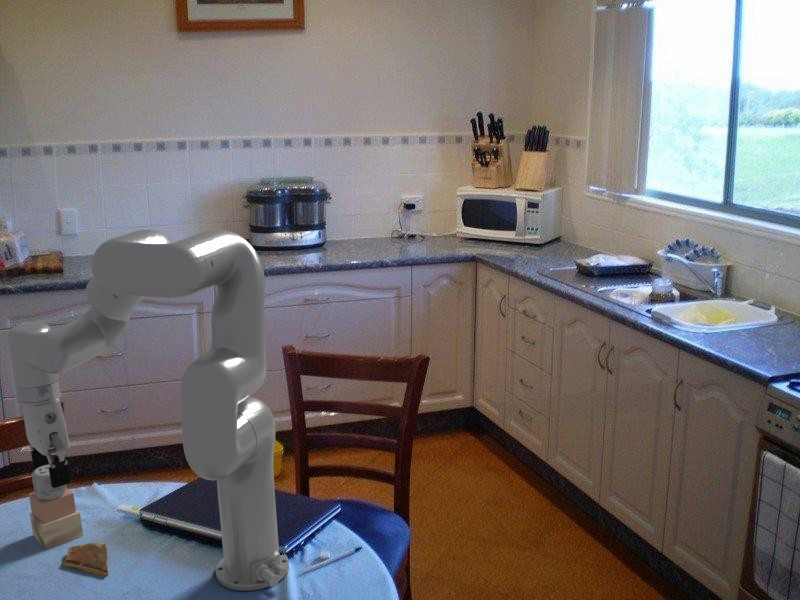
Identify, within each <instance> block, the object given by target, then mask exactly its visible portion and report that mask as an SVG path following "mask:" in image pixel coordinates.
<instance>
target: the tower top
mask: <svg viewBox="0 0 800 600" xmlns="http://www.w3.org/2000/svg"><path fill="white" fill-rule="evenodd" d="M28 497H29V504H30V505H29V506H30V512H32V514H33V515H35V516H36V517H37V518H38V519H39V520H40V521H42V522H43V523H44V524H46V523H49V522H52V521H54V520H57V519H60V518H62V517H65V516H68V515H70V514H73V513H76V510H77V509H76V503H75V496H74V492H72V491H71V490H70V489H68V488H67V489H66V492H65V493H64V494H63V495H62V496H60V497H58V498H56V499H52V500H40V499H38V498H37V496H36V494H35V491H33V492H30V493H29V494H28Z"/></svg>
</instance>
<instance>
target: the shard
mask: <svg viewBox="0 0 800 600" xmlns="http://www.w3.org/2000/svg"><path fill="white" fill-rule="evenodd" d="M62 565H63V567H65V568H66V567H67V568H76V569H77V570H78V569H79V570H82V571H84V572H87V573H91V574H94V575H98V576H105V577H108V576H109V566H108V547H107V543H106V542H90V543H85V544H80V545H79V544H78V545H74V546H70V547H69V548H68V550H67V555H66V556H65V560H63V561H62Z"/></svg>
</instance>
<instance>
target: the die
mask: <svg viewBox="0 0 800 600" xmlns="http://www.w3.org/2000/svg"><path fill="white" fill-rule="evenodd" d="M49 467H50V464H49V465H44V466H41V467H39V468H37V469H36V470H33V472H32V474H31V477H32V478H31V479H32V486H33V489H34V492H35V494H36V496H37V498H38V499H40V500H52V499H56V498H58V497H60V496H62V495H63V494H64V493H65V492H66V489H68V488H67V484H66V485H63V486H60V487H57V488H53V487H52V486H51V480H50V474H49Z"/></svg>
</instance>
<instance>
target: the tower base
mask: <svg viewBox="0 0 800 600" xmlns="http://www.w3.org/2000/svg"><path fill="white" fill-rule="evenodd" d="M29 516H30V524H31V529H32V536H34V538H35V539H36V540H37V541H38V542H39V544H40V545H41V546H42V547H43V548H44V549H45V550H49V549H51V548H55V547H58V546H60V545H61V544H65V543H68V542H71V541H73V540H76V539H79V538H81V537H84V534H83V532H84V531H83V526H82V518H81V512H80V511H79V510H78V509H76V513H73V514H70V515H68V516H65V517H62V518H60V519H57V520H54V521H52V522H49V523H46V524H44V523H43V522H42V521H40V520H39V519H38V518H37V517H36V516H35V515H33V514H32V511H29Z"/></svg>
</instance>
